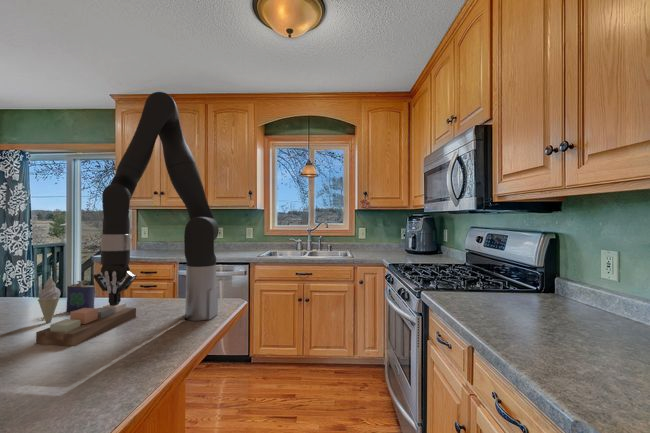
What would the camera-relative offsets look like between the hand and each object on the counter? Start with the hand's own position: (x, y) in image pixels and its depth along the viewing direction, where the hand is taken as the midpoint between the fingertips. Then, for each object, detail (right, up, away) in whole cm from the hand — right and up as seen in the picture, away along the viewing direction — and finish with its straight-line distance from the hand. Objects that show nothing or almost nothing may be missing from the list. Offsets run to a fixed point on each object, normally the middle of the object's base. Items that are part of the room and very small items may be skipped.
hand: (114, 304), depth 95 cm
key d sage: (-1, -3, -17) cm, 17 cm away
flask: (-19, -6, +11) cm, 23 cm away
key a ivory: (0, -3, 0) cm, 3 cm away
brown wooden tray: (-1, -6, -8) cm, 10 cm away
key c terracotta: (-1, -1, -11) cm, 11 cm away
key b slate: (0, -3, -6) cm, 6 cm away
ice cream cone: (-17, -6, -3) cm, 19 cm away
